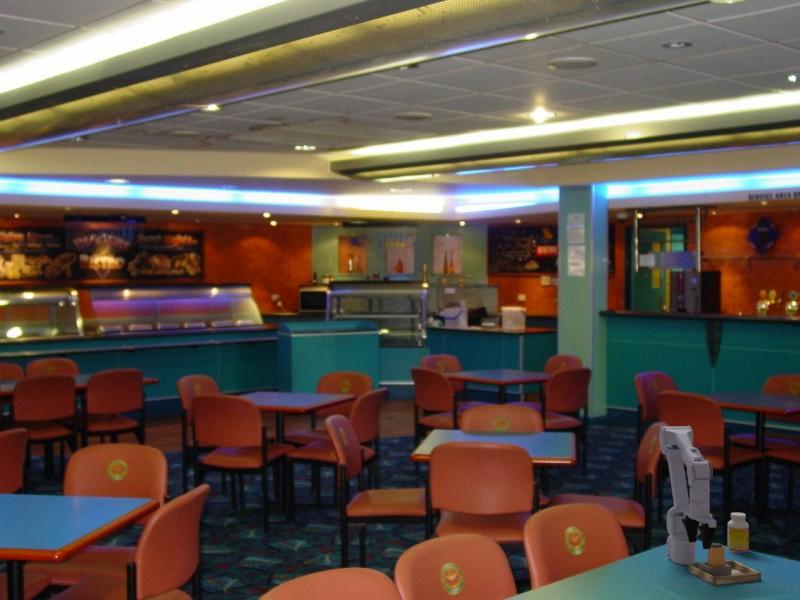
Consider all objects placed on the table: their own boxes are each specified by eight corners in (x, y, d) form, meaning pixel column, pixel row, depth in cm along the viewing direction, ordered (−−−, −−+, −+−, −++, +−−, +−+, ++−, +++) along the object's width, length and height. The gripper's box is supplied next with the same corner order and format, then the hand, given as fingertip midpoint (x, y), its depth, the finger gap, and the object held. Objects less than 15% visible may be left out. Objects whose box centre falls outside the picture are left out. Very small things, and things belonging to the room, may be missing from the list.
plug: (707, 568, 305) (707, 543, 305) (718, 567, 306) (719, 542, 306) (713, 571, 303) (713, 546, 302) (724, 570, 304) (724, 545, 303)
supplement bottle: (750, 555, 328) (750, 516, 328) (728, 554, 330) (729, 516, 329) (747, 550, 335) (747, 511, 334) (726, 549, 336) (726, 511, 336)
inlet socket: (698, 573, 306) (698, 562, 306) (719, 571, 309) (719, 560, 308) (710, 580, 300) (710, 568, 300) (731, 577, 302) (731, 566, 302)
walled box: (687, 574, 310) (687, 564, 309) (733, 569, 314) (733, 559, 314) (714, 588, 296) (714, 578, 296) (760, 583, 300) (760, 573, 300)
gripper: (725, 505, 298) (725, 550, 298) (697, 494, 312) (697, 538, 312) (704, 507, 296) (704, 552, 296) (677, 496, 310) (677, 539, 310)
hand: (699, 545), depth 304 cm, fingers open, 7 cm apart
